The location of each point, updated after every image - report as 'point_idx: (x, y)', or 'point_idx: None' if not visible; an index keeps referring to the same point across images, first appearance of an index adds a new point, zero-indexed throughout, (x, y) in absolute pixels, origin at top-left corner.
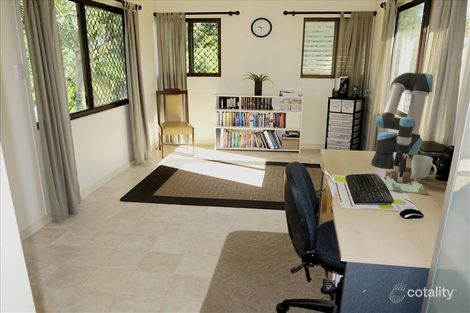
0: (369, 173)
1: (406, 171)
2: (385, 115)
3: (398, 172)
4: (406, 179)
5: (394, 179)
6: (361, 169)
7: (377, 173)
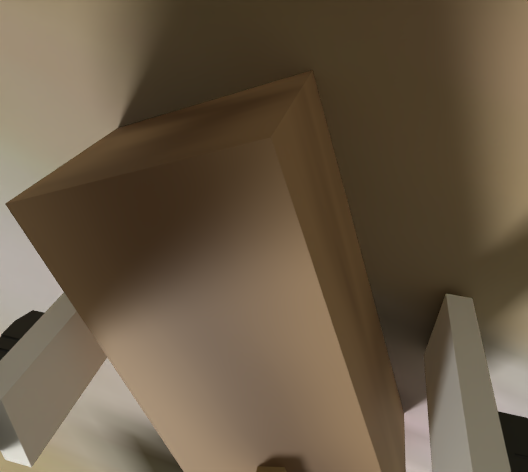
0: (125, 467)
1: (101, 202)
2: None
3: (272, 420)
4: (333, 176)
5: (393, 400)
6: (21, 468)
7: (82, 402)
